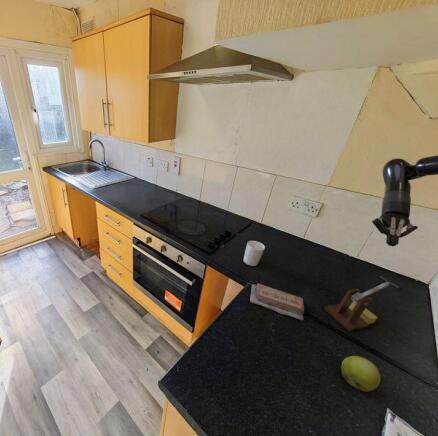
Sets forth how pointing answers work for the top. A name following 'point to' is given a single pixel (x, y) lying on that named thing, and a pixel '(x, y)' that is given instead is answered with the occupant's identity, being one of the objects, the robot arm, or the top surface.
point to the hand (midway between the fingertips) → (392, 245)
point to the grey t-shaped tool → (375, 289)
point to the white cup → (253, 252)
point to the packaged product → (277, 301)
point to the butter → (365, 314)
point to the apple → (360, 373)
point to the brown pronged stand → (349, 311)
